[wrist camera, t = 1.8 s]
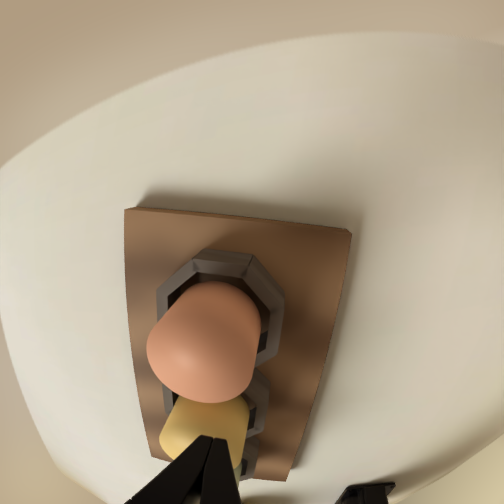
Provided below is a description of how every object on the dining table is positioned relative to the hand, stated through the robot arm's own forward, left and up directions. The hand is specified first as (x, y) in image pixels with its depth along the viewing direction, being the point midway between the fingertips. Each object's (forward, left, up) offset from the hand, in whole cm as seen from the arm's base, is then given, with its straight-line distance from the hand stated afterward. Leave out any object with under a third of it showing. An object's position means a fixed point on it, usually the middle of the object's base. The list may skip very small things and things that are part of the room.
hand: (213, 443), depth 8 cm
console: (-7, +2, -12) cm, 14 cm away
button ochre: (-7, +2, -9) cm, 12 cm away
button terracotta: (0, +2, -9) cm, 9 cm away
